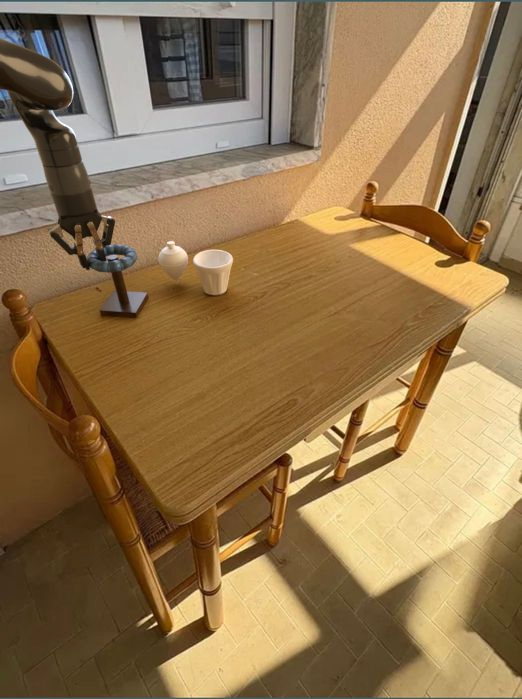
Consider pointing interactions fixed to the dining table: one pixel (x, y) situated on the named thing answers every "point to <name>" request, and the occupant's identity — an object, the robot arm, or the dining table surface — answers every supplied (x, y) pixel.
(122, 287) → the stand
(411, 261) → the dining table surface
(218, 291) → the cup
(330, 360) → the dining table surface
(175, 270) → the spinning top
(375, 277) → the dining table surface
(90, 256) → the blue teething ring
